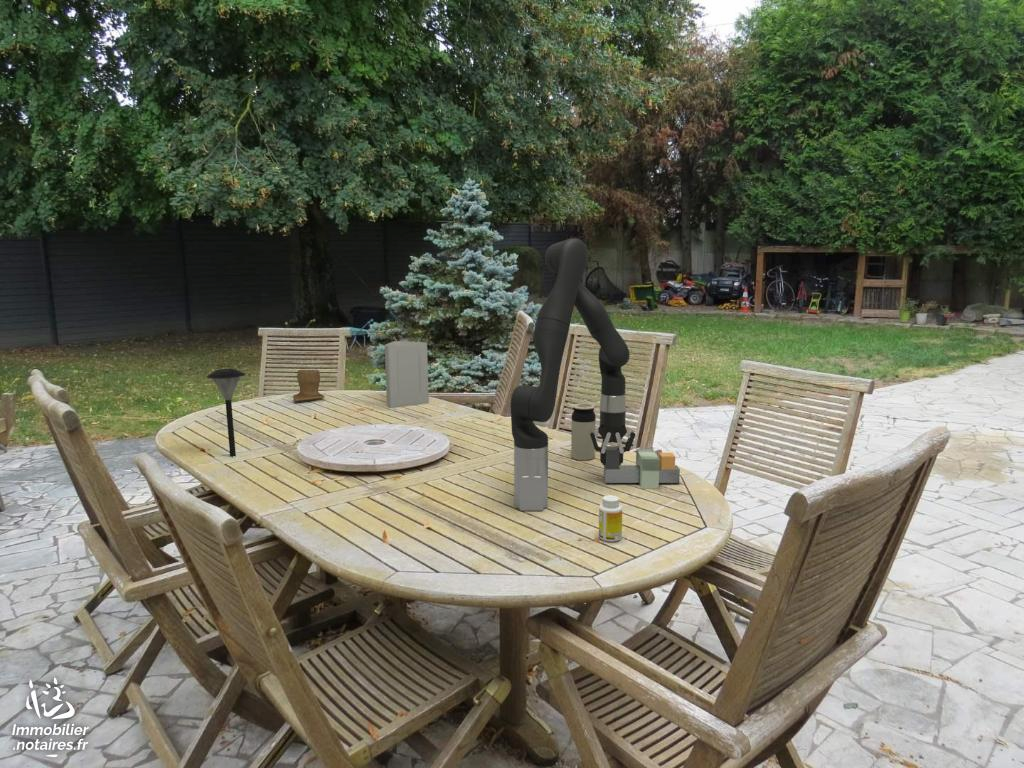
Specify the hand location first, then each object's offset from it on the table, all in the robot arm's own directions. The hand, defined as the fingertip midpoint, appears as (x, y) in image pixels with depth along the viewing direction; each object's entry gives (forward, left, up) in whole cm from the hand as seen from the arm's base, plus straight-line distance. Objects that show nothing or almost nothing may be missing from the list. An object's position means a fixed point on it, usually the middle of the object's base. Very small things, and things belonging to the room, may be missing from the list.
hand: (611, 464), depth 206 cm
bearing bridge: (0, -11, -6) cm, 12 cm away
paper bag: (+113, +82, -6) cm, 140 cm away
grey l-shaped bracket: (0, -9, -5) cm, 10 cm away
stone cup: (+119, +129, -6) cm, 176 cm away
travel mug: (+26, +6, -6) cm, 27 cm away
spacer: (0, -16, -1) cm, 17 cm away
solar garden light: (+27, +126, -6) cm, 129 cm away
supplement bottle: (-41, +5, -6) cm, 42 cm away
